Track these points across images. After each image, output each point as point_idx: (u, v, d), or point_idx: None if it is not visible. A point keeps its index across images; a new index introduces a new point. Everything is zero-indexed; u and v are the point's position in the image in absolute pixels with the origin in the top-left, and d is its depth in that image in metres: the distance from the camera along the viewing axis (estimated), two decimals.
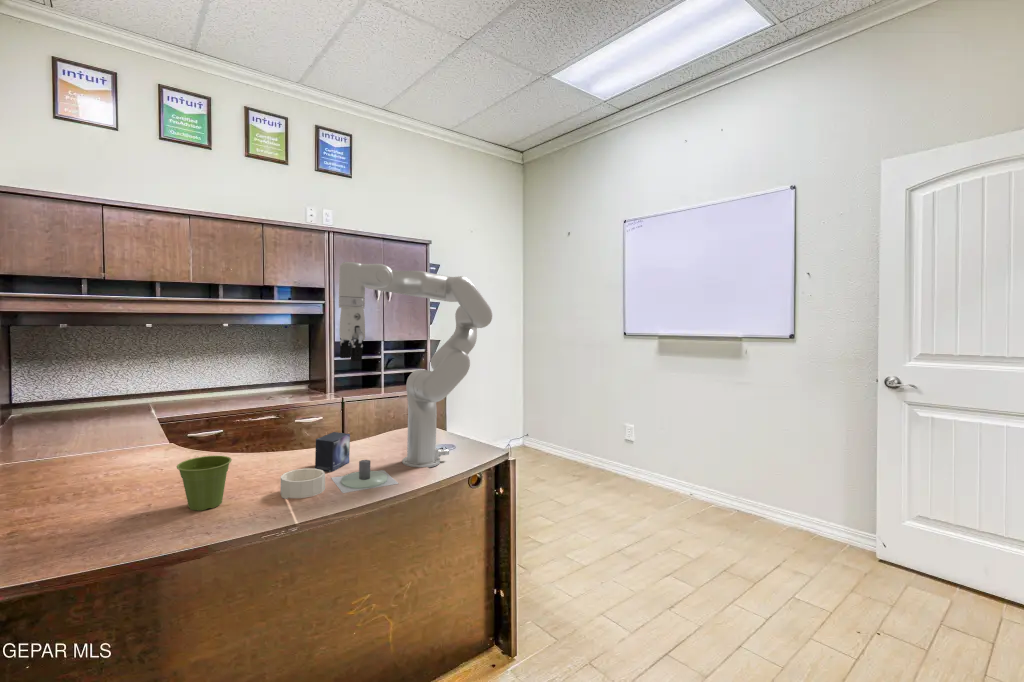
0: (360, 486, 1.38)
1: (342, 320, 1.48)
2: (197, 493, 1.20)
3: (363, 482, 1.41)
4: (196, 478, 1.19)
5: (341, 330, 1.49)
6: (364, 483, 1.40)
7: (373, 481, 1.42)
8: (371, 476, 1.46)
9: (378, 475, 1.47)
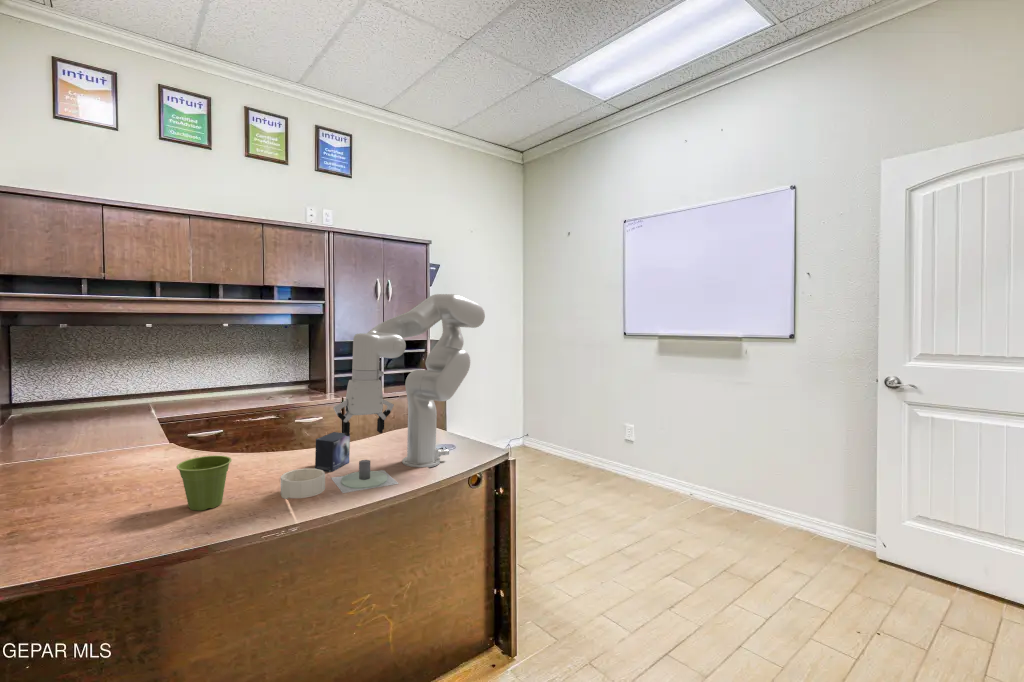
0: (360, 486, 1.38)
1: (364, 394, 1.40)
2: (197, 493, 1.20)
3: (363, 482, 1.41)
4: (196, 478, 1.19)
5: (359, 405, 1.40)
6: (364, 483, 1.40)
7: (373, 481, 1.42)
8: (371, 476, 1.46)
9: (378, 475, 1.47)
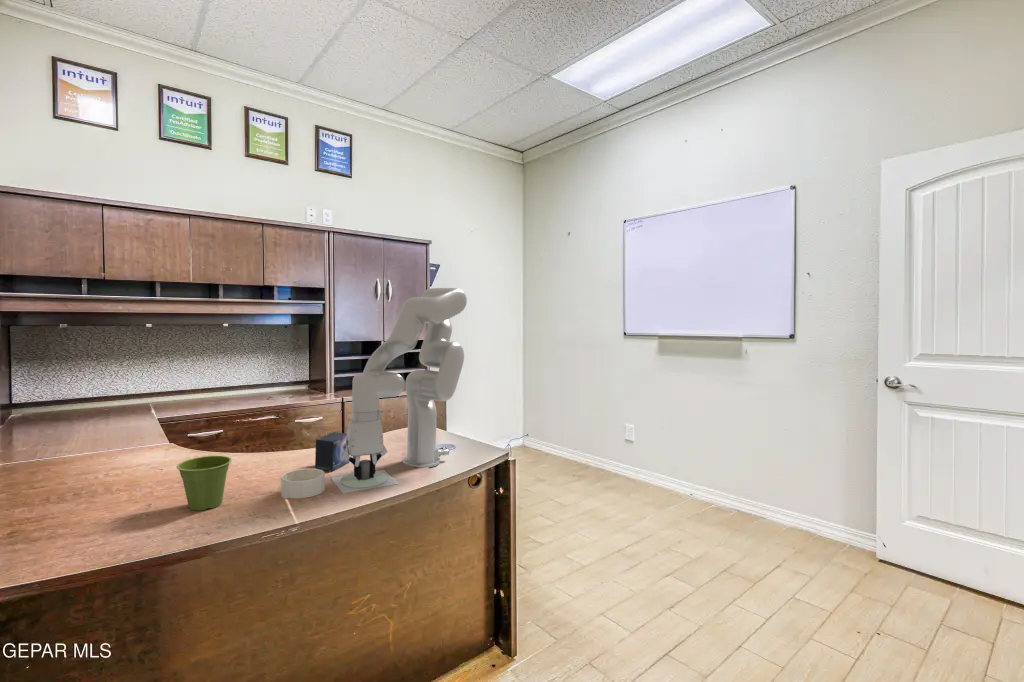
0: (360, 486, 1.38)
1: (365, 436, 1.41)
2: (197, 493, 1.20)
3: (363, 482, 1.41)
4: (196, 478, 1.19)
5: (360, 446, 1.41)
6: (364, 482, 1.40)
7: (373, 481, 1.42)
8: None
9: (378, 475, 1.47)
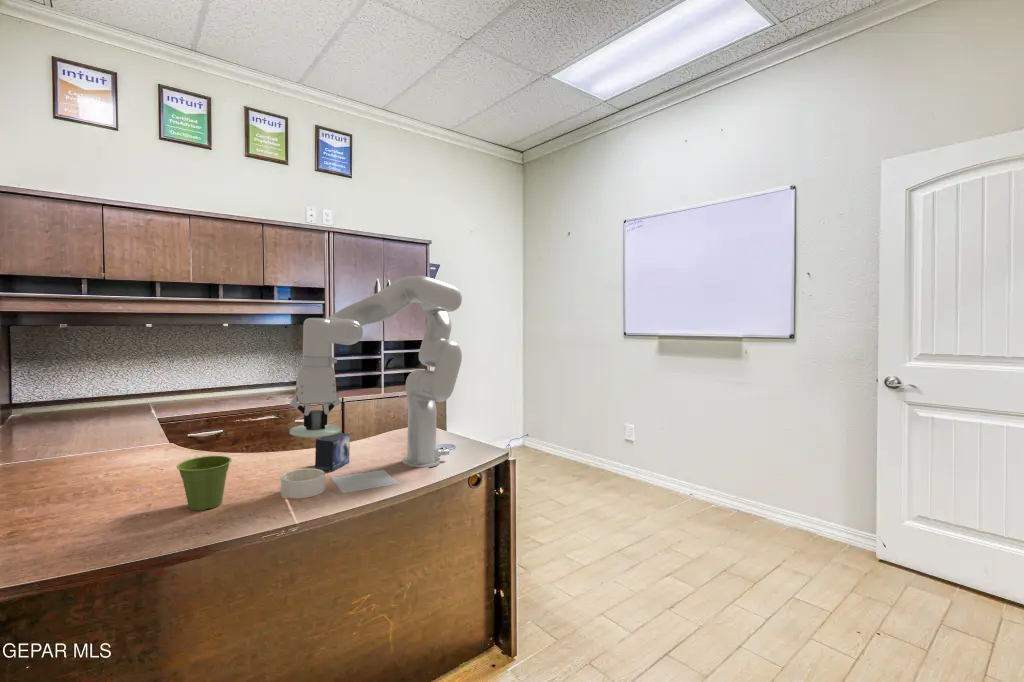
0: (308, 435, 1.29)
1: (315, 382, 1.33)
2: (197, 493, 1.20)
3: (312, 431, 1.32)
4: (197, 478, 1.19)
5: (310, 394, 1.32)
6: (313, 432, 1.32)
7: (323, 431, 1.33)
8: None
9: (331, 427, 1.38)
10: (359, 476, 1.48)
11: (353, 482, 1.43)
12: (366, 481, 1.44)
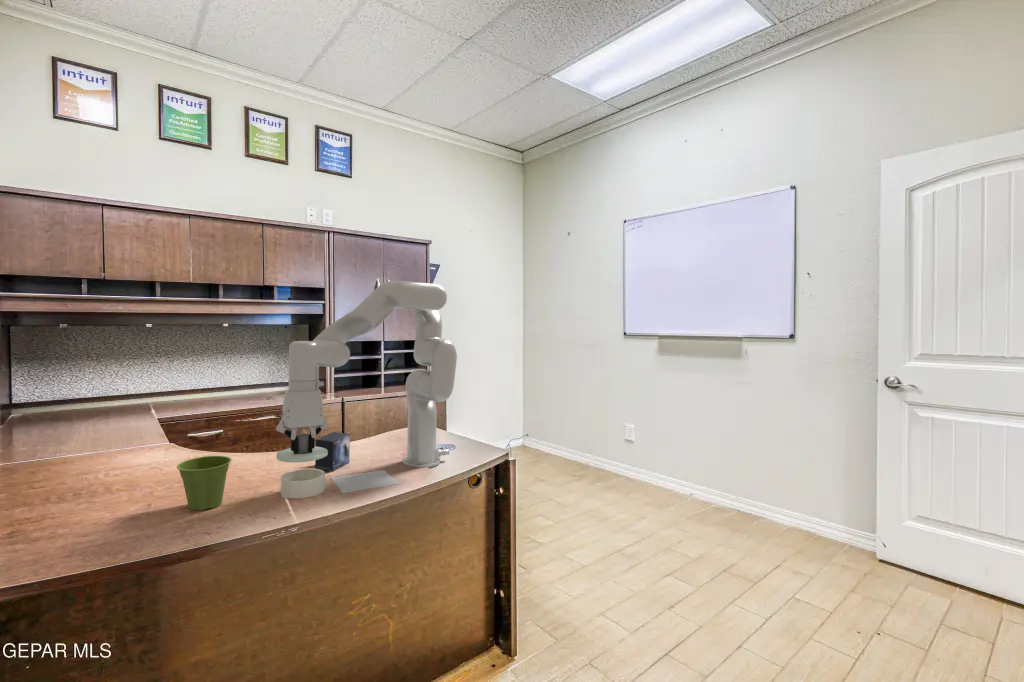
0: (295, 460, 1.28)
1: (302, 406, 1.31)
2: (197, 493, 1.20)
3: (299, 456, 1.31)
4: (197, 478, 1.19)
5: (296, 418, 1.31)
6: (300, 457, 1.30)
7: (310, 455, 1.32)
8: None
9: (318, 450, 1.37)
10: (359, 476, 1.48)
11: (353, 482, 1.43)
12: (366, 481, 1.44)
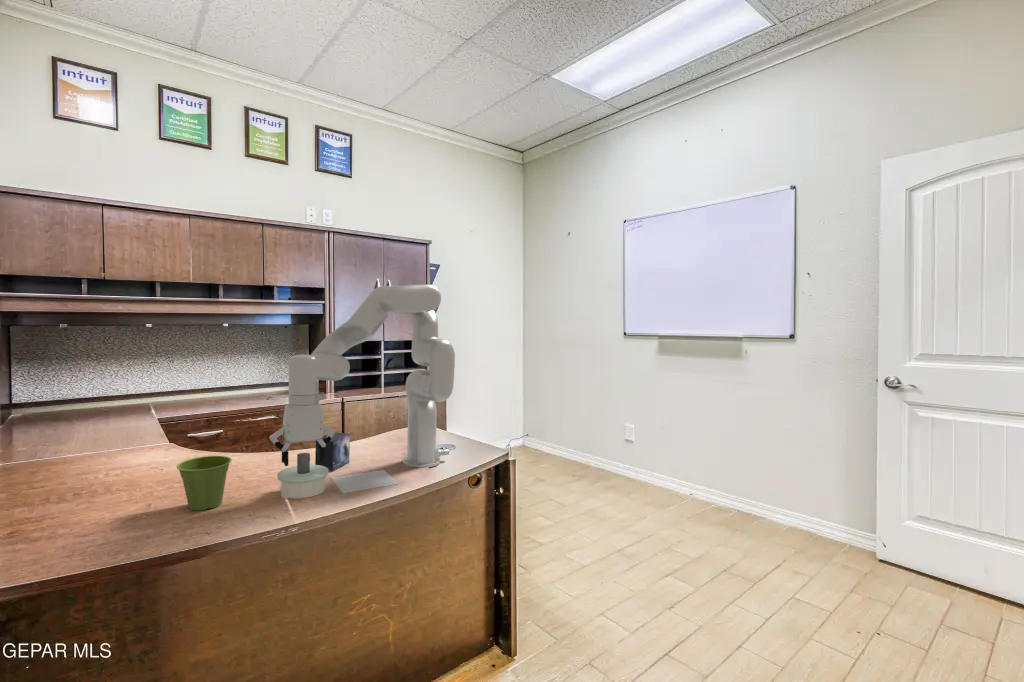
0: (296, 480, 1.29)
1: (302, 421, 1.32)
2: (197, 493, 1.20)
3: (300, 476, 1.31)
4: (197, 478, 1.19)
5: (296, 432, 1.31)
6: (301, 477, 1.31)
7: (311, 475, 1.32)
8: (311, 470, 1.37)
9: (319, 469, 1.38)
10: (359, 476, 1.48)
11: (353, 482, 1.43)
12: (366, 481, 1.44)
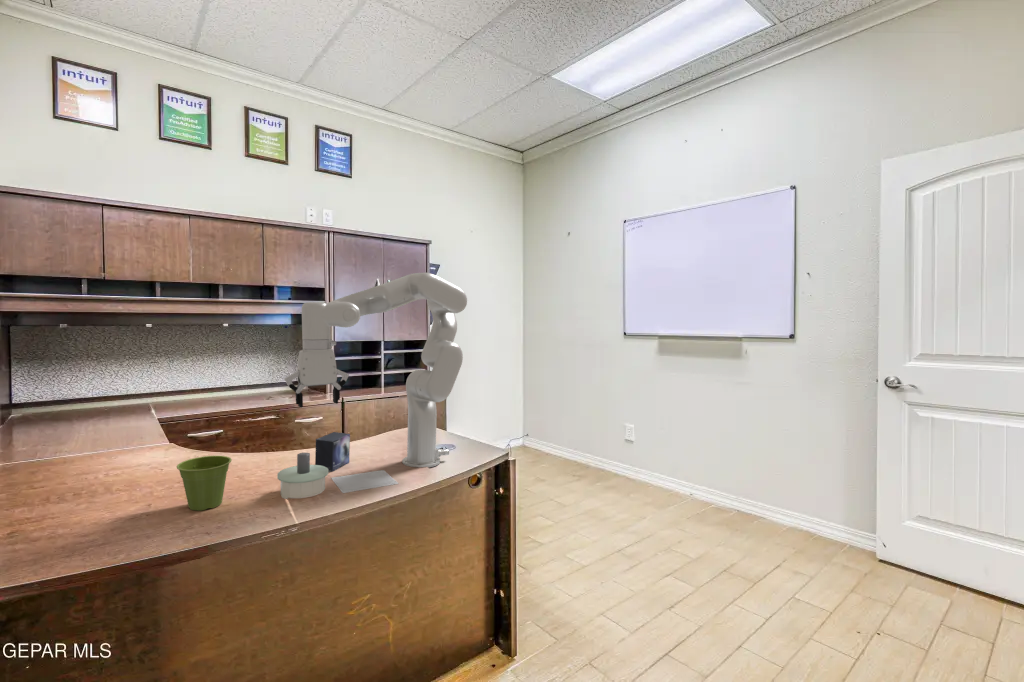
0: (296, 480, 1.29)
1: (316, 364, 1.37)
2: (197, 493, 1.20)
3: (300, 476, 1.31)
4: (196, 478, 1.19)
5: (311, 376, 1.37)
6: (301, 477, 1.31)
7: (311, 475, 1.32)
8: (311, 470, 1.37)
9: (319, 469, 1.38)
10: (359, 476, 1.48)
11: (353, 482, 1.43)
12: (366, 481, 1.44)
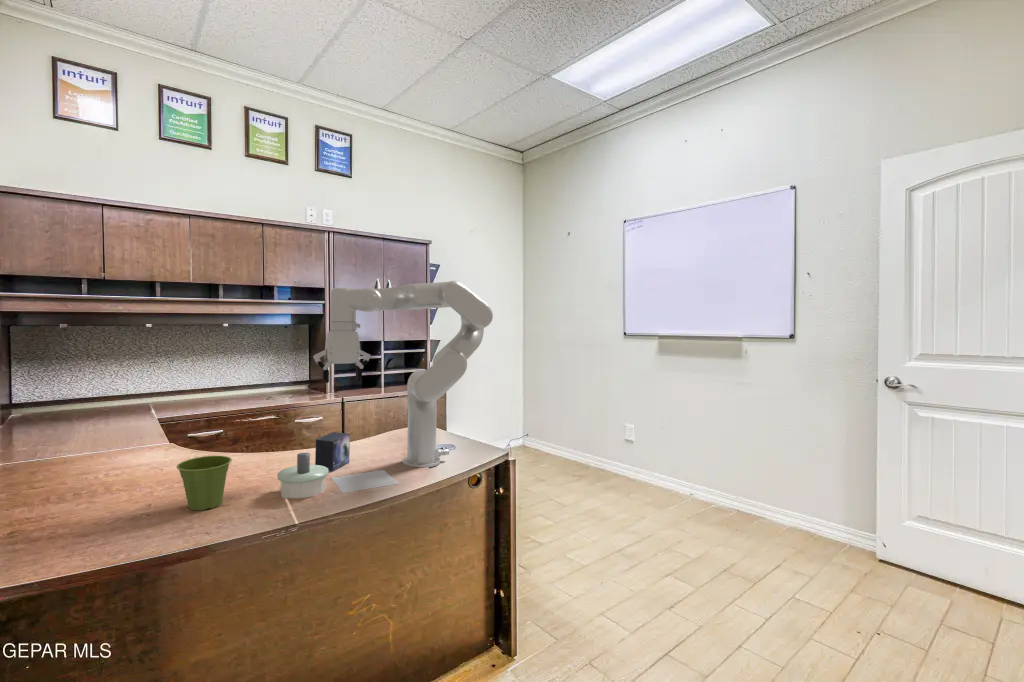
0: (296, 480, 1.29)
1: (342, 344, 1.51)
2: (197, 493, 1.20)
3: (300, 476, 1.31)
4: (197, 478, 1.19)
5: (337, 354, 1.50)
6: (301, 477, 1.31)
7: (311, 475, 1.32)
8: (311, 470, 1.37)
9: (319, 469, 1.38)
10: (359, 476, 1.48)
11: (353, 482, 1.43)
12: (366, 481, 1.44)
